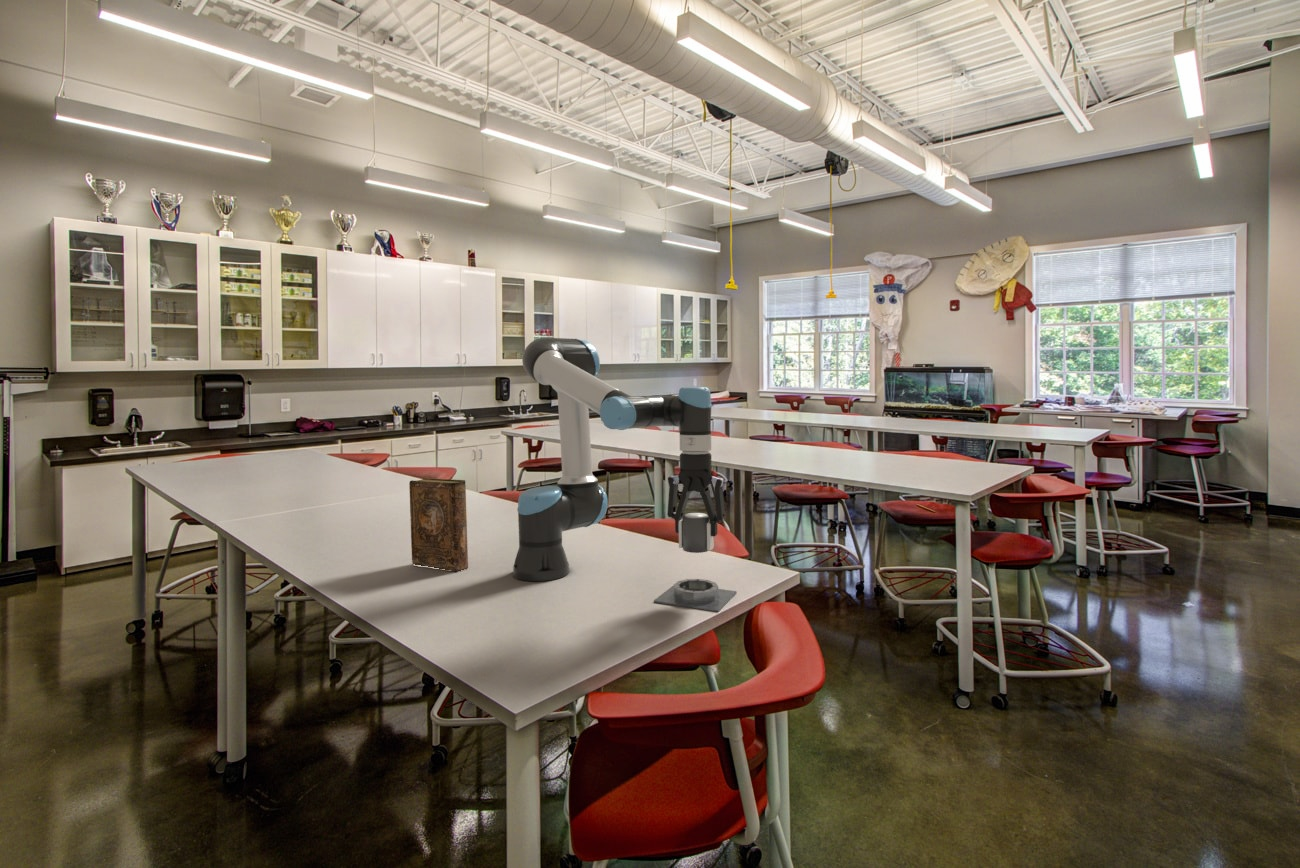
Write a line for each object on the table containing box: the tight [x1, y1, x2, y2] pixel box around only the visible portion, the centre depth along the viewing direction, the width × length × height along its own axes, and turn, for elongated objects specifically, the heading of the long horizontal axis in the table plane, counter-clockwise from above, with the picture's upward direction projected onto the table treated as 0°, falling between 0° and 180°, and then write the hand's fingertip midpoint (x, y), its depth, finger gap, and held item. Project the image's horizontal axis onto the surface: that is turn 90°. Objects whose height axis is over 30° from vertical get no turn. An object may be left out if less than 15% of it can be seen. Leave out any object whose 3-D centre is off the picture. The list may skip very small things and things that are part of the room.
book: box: [408, 477, 469, 572], centre depth 179 cm, size 16×6×25 cm, turn 68°
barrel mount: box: [653, 578, 738, 613], centre depth 152 cm, size 16×14×3 cm
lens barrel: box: [682, 512, 710, 554], centre depth 150 cm, size 6×6×8 cm
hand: (696, 547), depth 151 cm, fingers closed on lens barrel, 6 cm apart
